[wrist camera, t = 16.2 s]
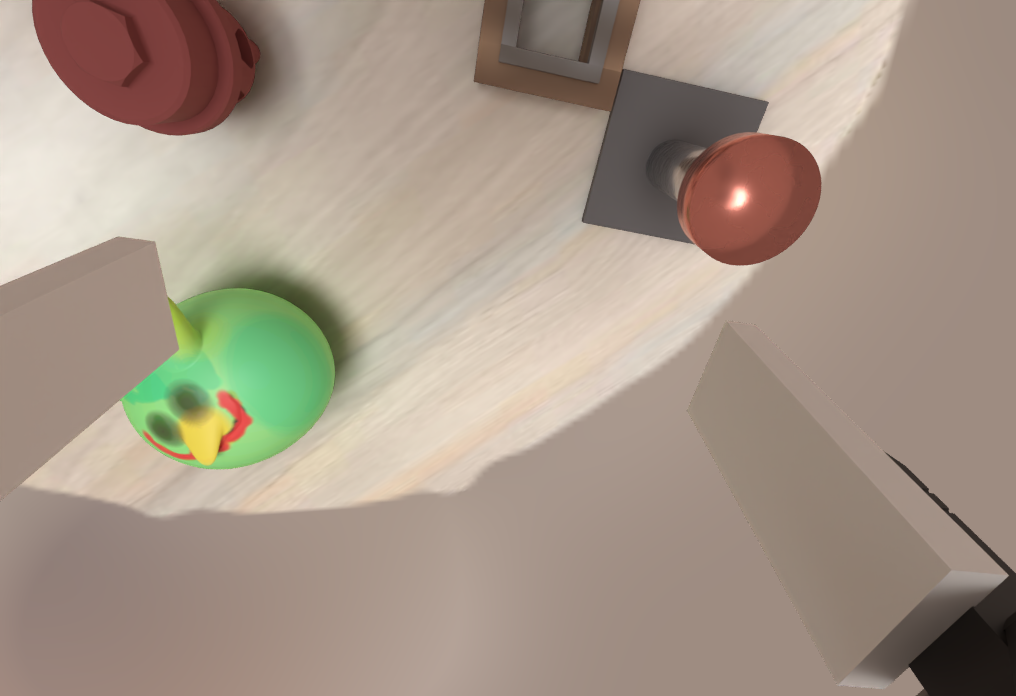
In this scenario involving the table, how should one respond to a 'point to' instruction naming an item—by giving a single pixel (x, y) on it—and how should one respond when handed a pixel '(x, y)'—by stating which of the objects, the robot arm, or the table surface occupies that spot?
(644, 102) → the rubber mat
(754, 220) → the peg
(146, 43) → the mechanical component
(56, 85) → the table surface
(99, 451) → the table surface
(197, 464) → the toy bird
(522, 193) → the table surface
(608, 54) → the eye block
